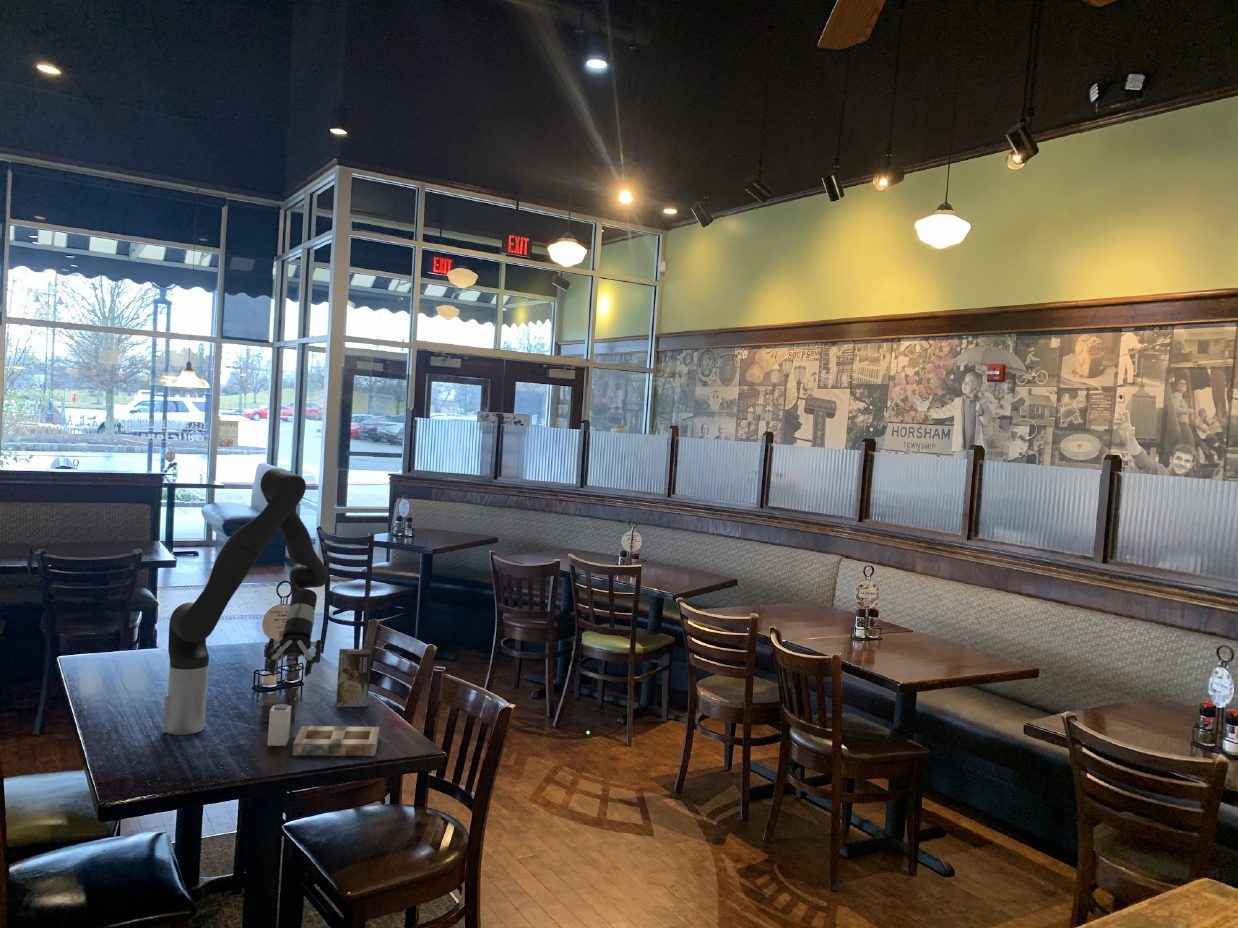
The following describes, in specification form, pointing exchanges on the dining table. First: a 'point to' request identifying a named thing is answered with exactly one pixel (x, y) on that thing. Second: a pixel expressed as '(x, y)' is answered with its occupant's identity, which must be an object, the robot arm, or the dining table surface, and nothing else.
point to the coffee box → (353, 678)
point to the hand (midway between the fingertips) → (289, 674)
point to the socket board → (336, 741)
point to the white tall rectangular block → (279, 725)
